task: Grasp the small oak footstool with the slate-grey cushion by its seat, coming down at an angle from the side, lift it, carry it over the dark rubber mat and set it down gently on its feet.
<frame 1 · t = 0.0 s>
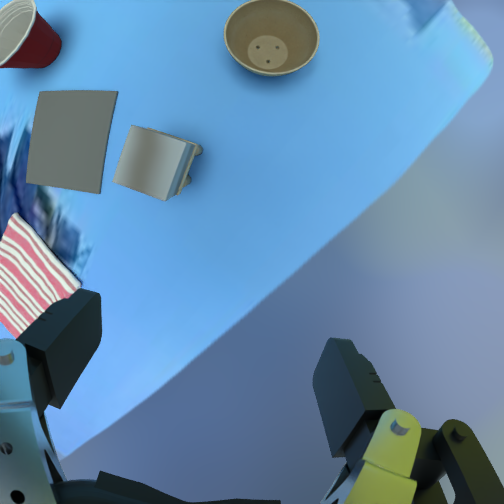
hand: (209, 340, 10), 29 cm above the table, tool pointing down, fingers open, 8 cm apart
flower pot: (266, 53, 32), on the table
dish towel: (28, 289, 41), on the table
plastic cup: (49, 50, 29), on the table
mat: (66, 138, 34), on the table
stool: (176, 159, 36), on the table
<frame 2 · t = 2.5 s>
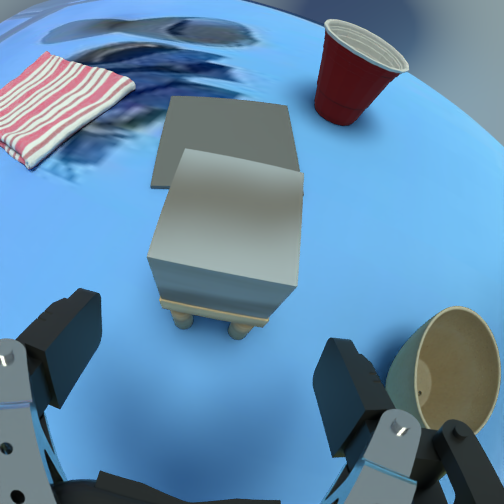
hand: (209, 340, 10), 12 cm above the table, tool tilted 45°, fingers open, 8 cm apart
flower pot: (405, 384, 22), on the table
dish towel: (42, 107, 30), on the table
plastic cup: (335, 114, 36), on the table
mat: (228, 139, 30), on the table
stool: (215, 299, 22), on the table
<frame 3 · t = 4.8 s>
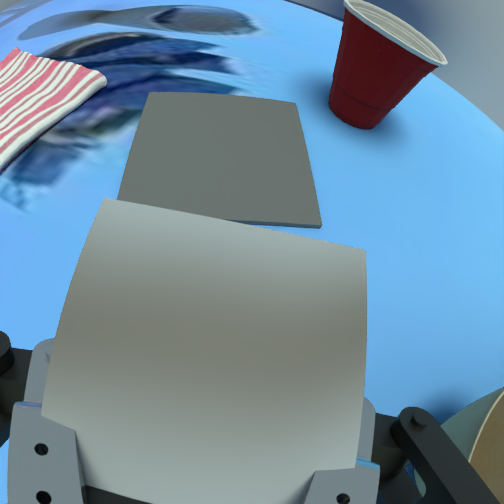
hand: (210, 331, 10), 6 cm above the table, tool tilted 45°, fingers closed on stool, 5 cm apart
flower pot: (435, 458, 15), on the table
dish towel: (4, 111, 22), on the table
plastic cup: (353, 114, 29), on the table
mat: (220, 147, 23), on the table
stool: (201, 382, 15), on the table, touching gripper
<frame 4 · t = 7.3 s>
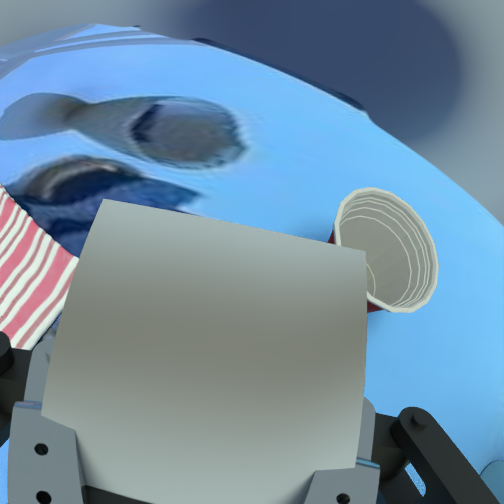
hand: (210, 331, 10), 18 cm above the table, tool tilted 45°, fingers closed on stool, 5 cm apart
plastic cup: (334, 293, 32), on the table
stool: (201, 383, 15), point 12 cm above the table, touching gripper
when the fingers open (8 cm above the table, at t = 9.8 s): stool drops 1 cm, resting on mat.
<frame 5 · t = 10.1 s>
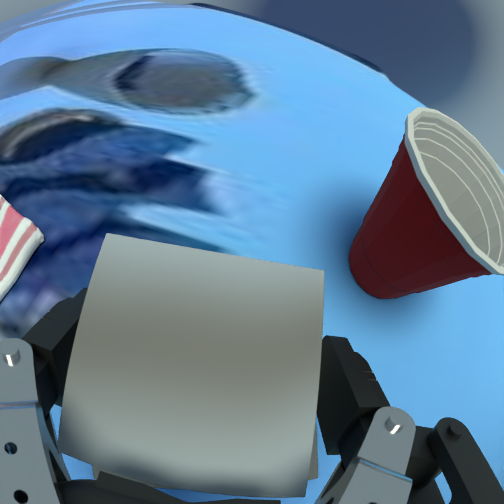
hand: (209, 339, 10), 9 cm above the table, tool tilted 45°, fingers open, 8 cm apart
plastic cup: (379, 268, 23), on the table
mat: (200, 383, 17), on the table
stool: (202, 384, 16), point 1 cm above the table, touching mat
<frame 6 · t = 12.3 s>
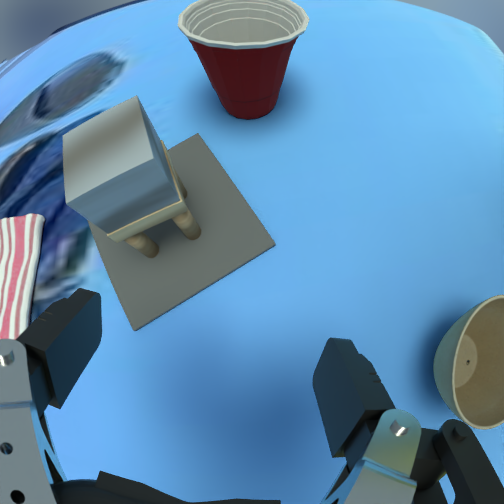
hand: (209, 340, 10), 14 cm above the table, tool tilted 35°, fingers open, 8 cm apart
flower pot: (453, 360, 21), on the table
plastic cup: (252, 102, 30), on the table
mat: (166, 223, 26), on the table
stool: (165, 221, 26), resting on mat
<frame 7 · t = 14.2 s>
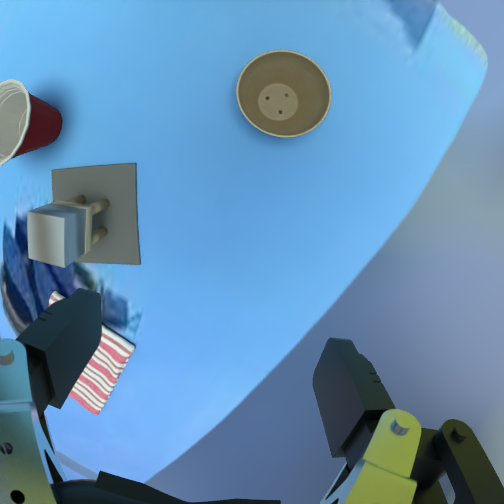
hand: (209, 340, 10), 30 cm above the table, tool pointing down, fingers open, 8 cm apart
flower pot: (277, 103, 35), on the table
dish towel: (80, 356, 47), on the table
plastic cup: (49, 124, 34), on the table
mat: (93, 215, 38), on the table
stool: (92, 215, 38), resting on mat
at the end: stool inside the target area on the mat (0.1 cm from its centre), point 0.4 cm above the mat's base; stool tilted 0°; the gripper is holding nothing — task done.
